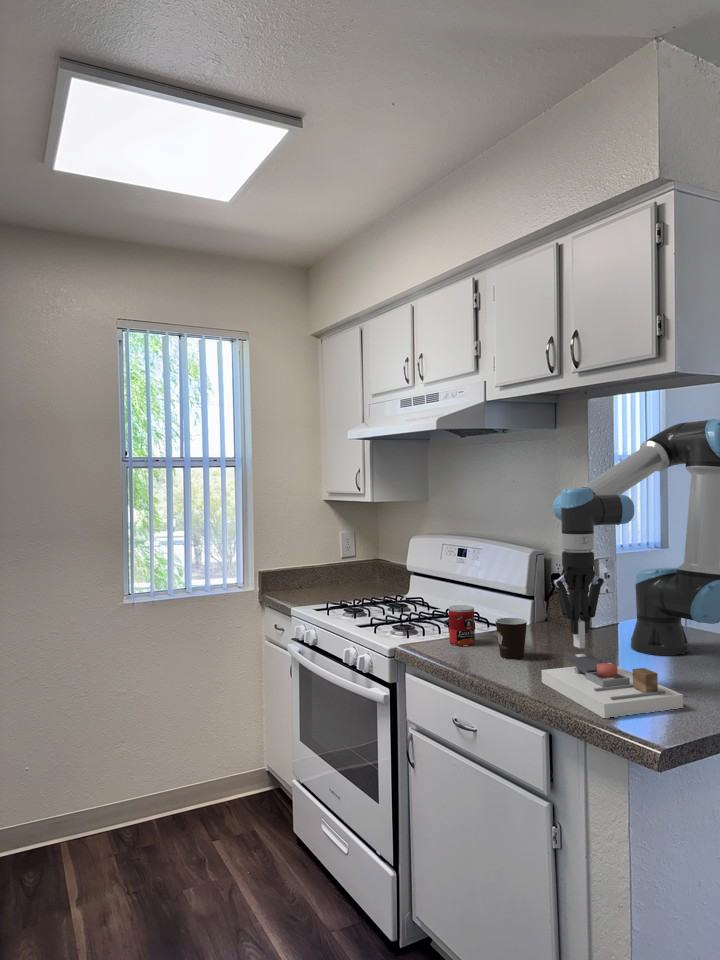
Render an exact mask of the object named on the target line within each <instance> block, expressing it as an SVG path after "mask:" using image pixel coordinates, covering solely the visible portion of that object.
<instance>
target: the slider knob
mask: <svg viewBox="0 0 720 960" xmlns="http://www.w3.org/2000/svg"><path fill="white" fill-rule="evenodd" d="M632 673H633V687H634V688H636V689H638V690H640V691H642V692H644V693H648V692H656V691H658V682H659V681H658V680H659V679H658V673H657V672H655V671H653V670H652V669H651V670H650V669H648V668H645V667H641V668H633V669H632Z"/></svg>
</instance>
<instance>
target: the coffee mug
mask: <svg viewBox="0 0 720 960" xmlns="http://www.w3.org/2000/svg"><path fill="white" fill-rule="evenodd" d="M527 623H528V621H527V619H524V618H519V617H502V618H497V619H495V629H496V634H497V641H498V649H499V657H500V656H501V657H502V659H504V658H506V659H505V660H510V659H517V660H522V659H523V658H524V656H525V648H526V647H525V645H526V635H527V634H526V633H527V625H528V624H527ZM501 657H500V658H501Z"/></svg>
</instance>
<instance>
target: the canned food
mask: <svg viewBox="0 0 720 960" xmlns="http://www.w3.org/2000/svg"><path fill="white" fill-rule="evenodd" d="M448 632H449V635H448V636H449V637H448V638H449V643H450V644H451V643H452V644H455V645H471V646H473V645H475V642H476V638H475V636H476V634H475V633H476V632H475V607H474V606H472V605H467V604H456V605H450V606H448ZM452 644H451V645H452Z"/></svg>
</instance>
